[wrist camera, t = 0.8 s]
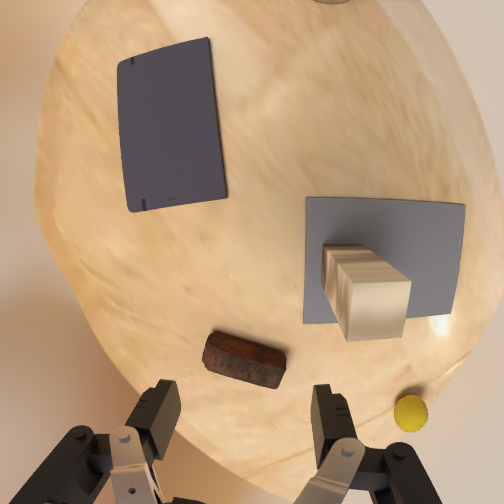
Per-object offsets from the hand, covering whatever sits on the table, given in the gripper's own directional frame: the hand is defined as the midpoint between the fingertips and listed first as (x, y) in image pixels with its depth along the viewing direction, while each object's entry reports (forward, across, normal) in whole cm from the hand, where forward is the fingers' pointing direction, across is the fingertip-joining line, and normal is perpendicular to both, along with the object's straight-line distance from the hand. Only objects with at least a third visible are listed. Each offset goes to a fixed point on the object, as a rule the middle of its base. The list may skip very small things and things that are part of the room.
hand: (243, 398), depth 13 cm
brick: (+24, +2, +12) cm, 27 cm away
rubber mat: (+24, -17, 0) cm, 29 cm away
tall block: (+23, -10, 0) cm, 25 cm away
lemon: (+24, -24, +24) cm, 41 cm away
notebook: (+25, +11, -18) cm, 32 cm away
